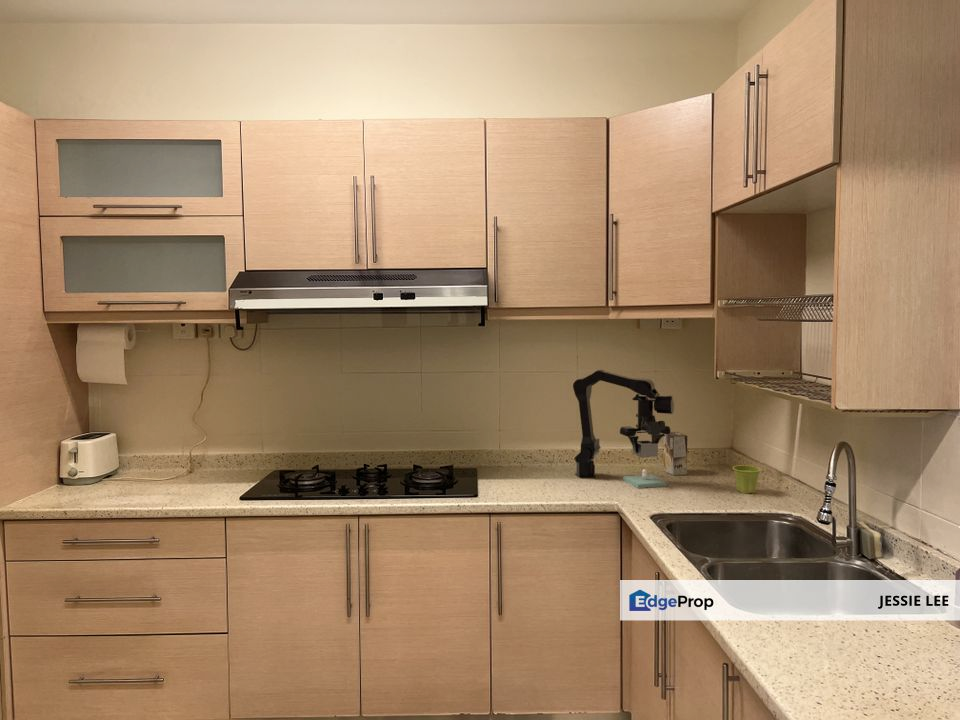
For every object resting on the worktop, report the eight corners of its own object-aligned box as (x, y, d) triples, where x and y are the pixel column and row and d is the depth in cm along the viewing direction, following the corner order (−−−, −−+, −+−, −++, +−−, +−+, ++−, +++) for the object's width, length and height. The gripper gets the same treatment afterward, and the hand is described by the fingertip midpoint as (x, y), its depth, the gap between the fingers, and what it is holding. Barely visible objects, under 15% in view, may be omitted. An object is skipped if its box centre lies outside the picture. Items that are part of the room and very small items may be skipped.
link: (641, 457, 236) (641, 444, 236) (632, 453, 243) (632, 440, 242) (657, 456, 238) (657, 443, 237) (648, 452, 244) (648, 440, 244)
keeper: (637, 488, 234) (638, 473, 233) (623, 480, 245) (623, 466, 245) (666, 486, 236) (667, 471, 236) (651, 478, 248) (651, 464, 248)
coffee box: (687, 474, 253) (688, 435, 252) (673, 475, 252) (673, 436, 251) (676, 469, 262) (677, 431, 261) (662, 470, 261) (663, 432, 260)
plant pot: (757, 496, 222) (758, 472, 221) (729, 492, 227) (730, 469, 226) (762, 490, 229) (762, 467, 229) (734, 486, 235) (735, 464, 234)
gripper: (632, 416, 229) (632, 458, 230) (678, 414, 233) (678, 455, 234) (619, 412, 240) (619, 452, 241) (663, 410, 244) (662, 449, 245)
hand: (645, 452), depth 240 cm, fingers closed on link, 7 cm apart
